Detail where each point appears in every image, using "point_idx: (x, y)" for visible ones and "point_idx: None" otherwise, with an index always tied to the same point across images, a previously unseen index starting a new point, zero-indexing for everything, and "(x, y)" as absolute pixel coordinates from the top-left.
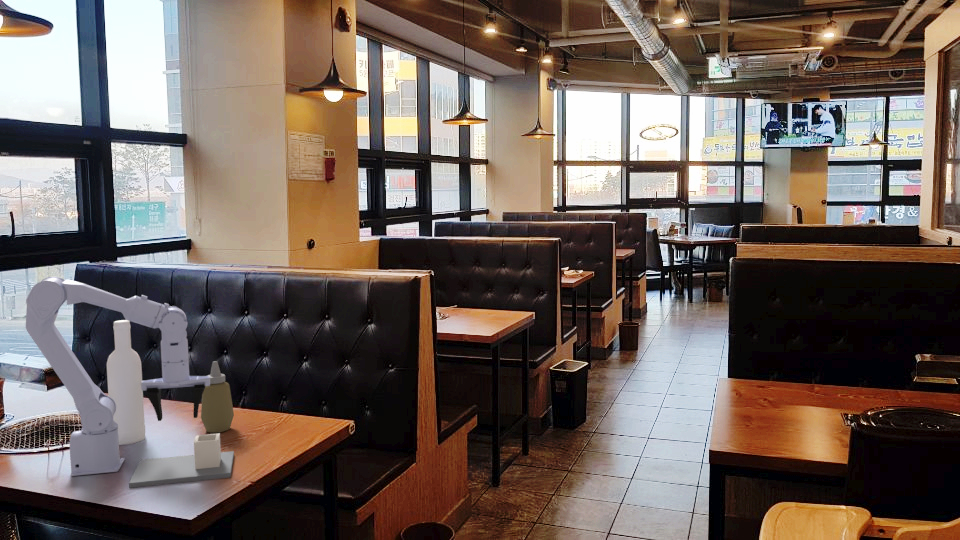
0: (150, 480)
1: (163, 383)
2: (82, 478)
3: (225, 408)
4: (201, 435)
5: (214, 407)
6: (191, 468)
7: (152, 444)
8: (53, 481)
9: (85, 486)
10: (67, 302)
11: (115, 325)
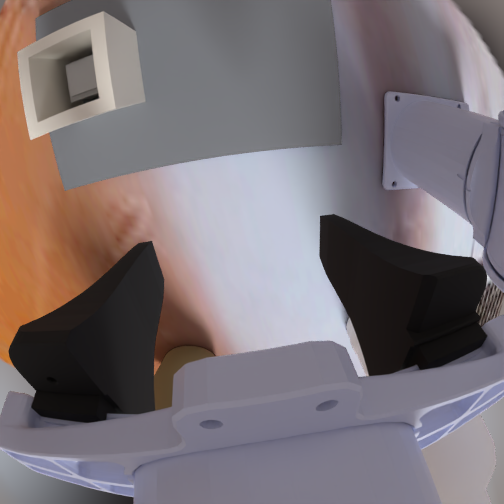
0: None
1: (420, 393)
2: (444, 82)
3: (157, 397)
4: (91, 106)
5: None
6: (150, 37)
7: (327, 290)
8: (482, 91)
9: (426, 25)
10: None
11: None
